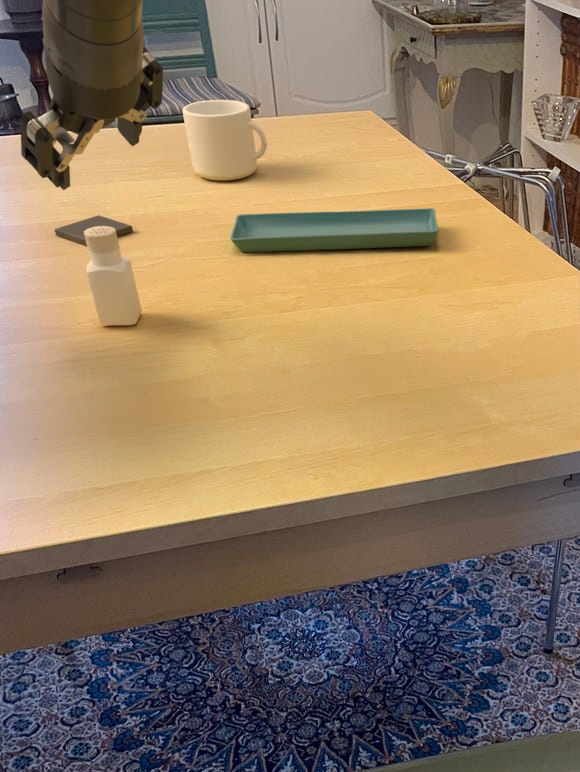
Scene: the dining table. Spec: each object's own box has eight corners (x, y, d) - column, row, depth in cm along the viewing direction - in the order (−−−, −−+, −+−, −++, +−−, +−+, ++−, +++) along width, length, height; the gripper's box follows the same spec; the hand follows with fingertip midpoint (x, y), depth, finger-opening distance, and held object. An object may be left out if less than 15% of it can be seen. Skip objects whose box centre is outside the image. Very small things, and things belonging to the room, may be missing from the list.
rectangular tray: (232, 255, 118) (228, 235, 116) (239, 230, 125) (236, 211, 123) (439, 251, 120) (439, 231, 118) (435, 226, 127) (434, 207, 125)
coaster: (89, 246, 120) (87, 240, 119) (55, 235, 123) (53, 229, 122) (133, 232, 124) (132, 225, 123) (99, 221, 127) (98, 214, 126)
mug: (283, 166, 146) (275, 101, 140) (260, 186, 139) (250, 118, 133) (210, 161, 148) (199, 96, 142) (183, 181, 140) (171, 113, 134)
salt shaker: (136, 327, 102) (114, 237, 96) (99, 327, 102) (74, 237, 95) (143, 312, 105) (123, 224, 98) (107, 312, 105) (84, 224, 98)
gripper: (128, -34, 78) (122, 92, 93) (-14, 43, 73) (4, 163, 88) (192, 42, 80) (176, 154, 95) (58, 123, 75) (64, 228, 90)
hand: (93, 158), depth 91 cm, fingers open, 8 cm apart
